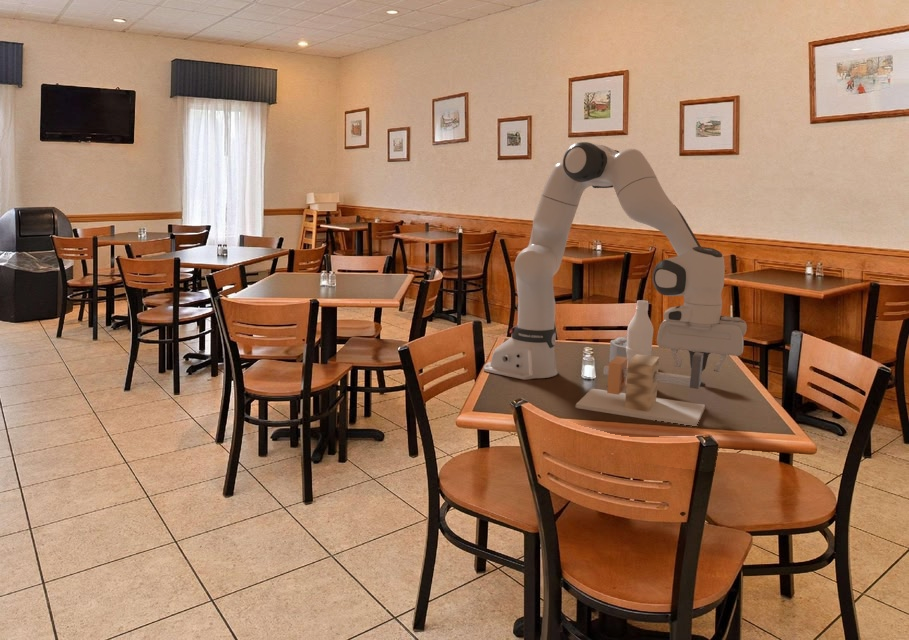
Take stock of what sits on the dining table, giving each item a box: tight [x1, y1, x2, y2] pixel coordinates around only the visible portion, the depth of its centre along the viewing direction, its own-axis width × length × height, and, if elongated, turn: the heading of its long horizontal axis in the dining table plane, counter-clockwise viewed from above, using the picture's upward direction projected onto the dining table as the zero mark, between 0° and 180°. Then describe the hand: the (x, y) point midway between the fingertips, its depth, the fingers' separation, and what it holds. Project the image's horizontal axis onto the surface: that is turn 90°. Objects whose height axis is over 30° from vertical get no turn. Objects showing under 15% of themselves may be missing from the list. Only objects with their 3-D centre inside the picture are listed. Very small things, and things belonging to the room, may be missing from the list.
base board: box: [575, 388, 706, 427], centre depth 184 cm, size 30×16×1 cm, turn 64°
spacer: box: [607, 356, 628, 395], centre depth 186 cm, size 3×8×8 cm, turn 154°
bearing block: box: [625, 354, 660, 412], centre depth 183 cm, size 6×10×12 cm, turn 154°
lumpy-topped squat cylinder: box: [608, 336, 627, 363], centre depth 226 cm, size 10×13×9 cm
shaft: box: [602, 352, 704, 390], centre depth 181 cm, size 24×5×8 cm, turn 64°
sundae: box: [688, 351, 712, 387], centre depth 206 cm, size 7×7×15 cm
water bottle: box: [626, 299, 654, 385], centre depth 201 cm, size 7×7×25 cm
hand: (697, 368), depth 176 cm, fingers open, 8 cm apart
